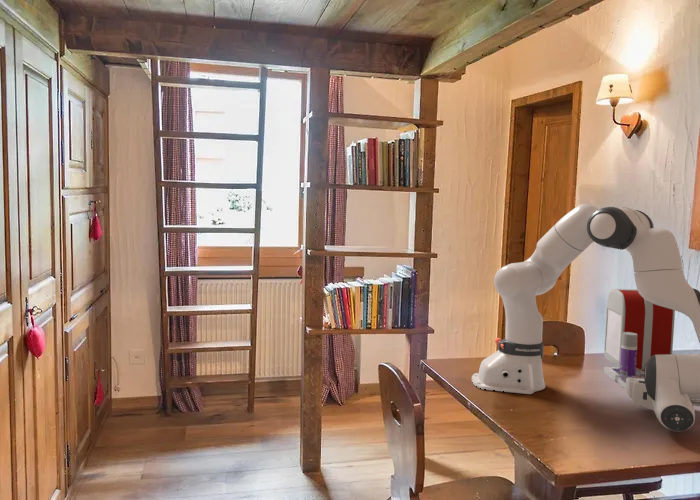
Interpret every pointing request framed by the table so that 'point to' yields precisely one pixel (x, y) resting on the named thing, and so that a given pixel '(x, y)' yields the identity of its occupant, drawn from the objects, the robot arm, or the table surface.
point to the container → (628, 354)
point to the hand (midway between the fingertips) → (663, 382)
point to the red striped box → (637, 326)
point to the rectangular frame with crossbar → (621, 379)
